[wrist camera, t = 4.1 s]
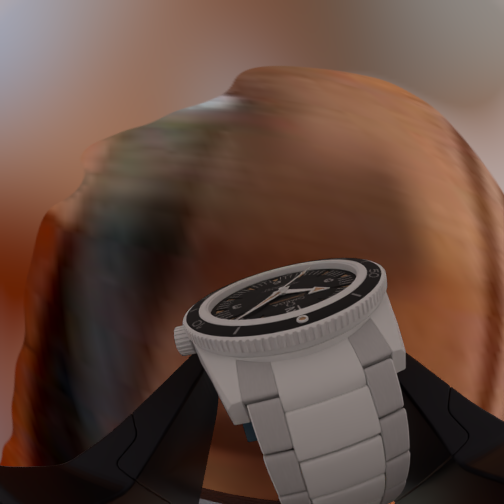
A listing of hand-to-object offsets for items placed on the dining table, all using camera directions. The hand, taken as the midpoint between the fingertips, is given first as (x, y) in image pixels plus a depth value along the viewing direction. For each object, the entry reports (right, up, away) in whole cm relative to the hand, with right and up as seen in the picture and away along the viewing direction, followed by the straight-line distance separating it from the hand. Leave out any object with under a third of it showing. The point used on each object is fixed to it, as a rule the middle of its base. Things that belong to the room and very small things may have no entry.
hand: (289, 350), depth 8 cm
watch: (+1, -4, +6) cm, 7 cm away
